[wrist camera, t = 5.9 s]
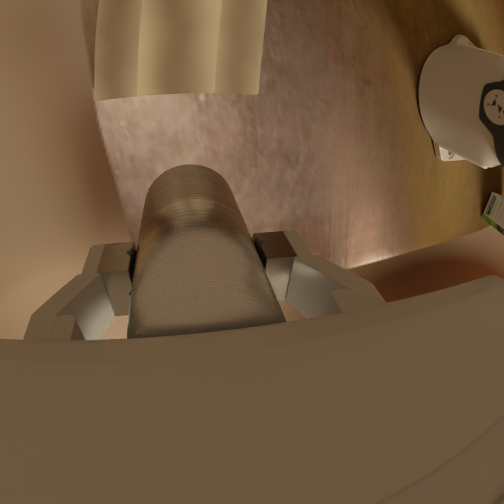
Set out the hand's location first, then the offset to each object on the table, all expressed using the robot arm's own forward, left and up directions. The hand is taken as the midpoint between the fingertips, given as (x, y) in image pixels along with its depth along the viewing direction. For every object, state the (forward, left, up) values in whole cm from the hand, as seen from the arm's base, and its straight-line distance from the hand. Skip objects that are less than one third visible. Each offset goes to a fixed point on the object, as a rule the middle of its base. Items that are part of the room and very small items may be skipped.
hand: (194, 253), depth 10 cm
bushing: (0, 0, -4) cm, 4 cm away
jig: (+1, -13, -19) cm, 23 cm away
